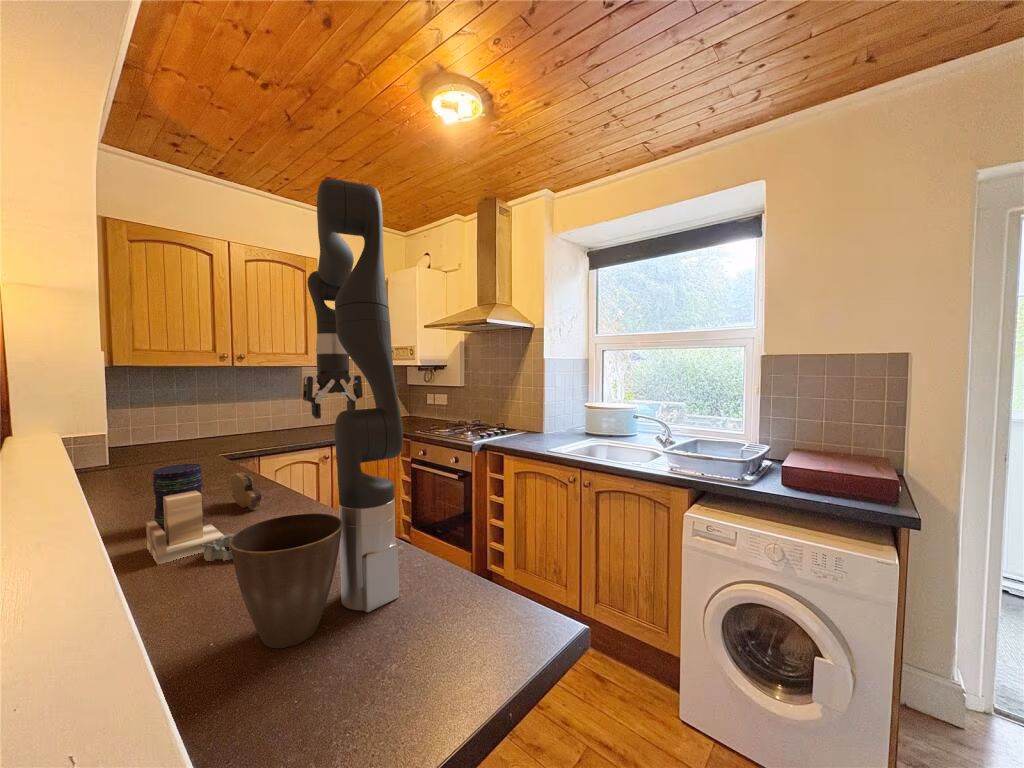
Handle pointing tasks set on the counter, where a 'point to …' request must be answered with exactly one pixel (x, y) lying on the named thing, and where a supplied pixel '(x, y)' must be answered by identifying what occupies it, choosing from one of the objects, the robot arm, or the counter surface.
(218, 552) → the egg carton
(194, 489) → the storage jar
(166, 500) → the oak plank block
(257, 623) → the plant pot
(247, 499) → the wooden carving
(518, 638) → the counter surface
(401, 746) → the counter surface
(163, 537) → the birch board
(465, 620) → the counter surface
